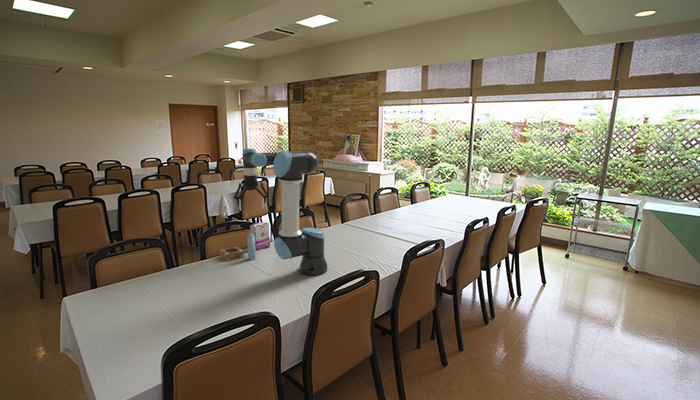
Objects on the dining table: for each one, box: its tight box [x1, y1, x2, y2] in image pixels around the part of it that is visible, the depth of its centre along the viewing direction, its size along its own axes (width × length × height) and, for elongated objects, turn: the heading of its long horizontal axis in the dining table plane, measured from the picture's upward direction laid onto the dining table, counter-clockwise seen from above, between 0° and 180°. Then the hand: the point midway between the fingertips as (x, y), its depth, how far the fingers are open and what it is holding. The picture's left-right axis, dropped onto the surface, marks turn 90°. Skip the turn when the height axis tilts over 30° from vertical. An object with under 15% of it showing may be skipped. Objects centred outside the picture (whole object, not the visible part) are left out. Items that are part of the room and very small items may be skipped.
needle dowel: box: [246, 233, 256, 261], centre depth 200 cm, size 4×4×16 cm
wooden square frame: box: [220, 246, 245, 262], centre depth 204 cm, size 10×10×4 cm
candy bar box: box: [250, 221, 271, 252], centre depth 219 cm, size 11×5×16 cm, turn 143°
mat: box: [219, 253, 248, 263], centre depth 205 cm, size 14×12×1 cm
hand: (252, 209), depth 210 cm, fingers open, 13 cm apart
